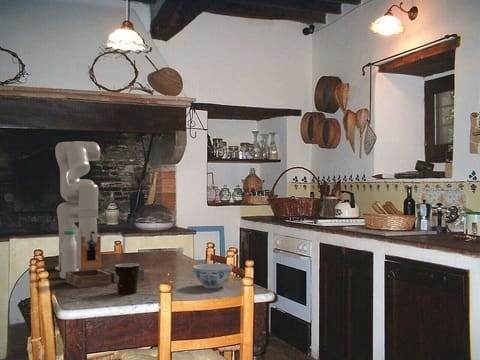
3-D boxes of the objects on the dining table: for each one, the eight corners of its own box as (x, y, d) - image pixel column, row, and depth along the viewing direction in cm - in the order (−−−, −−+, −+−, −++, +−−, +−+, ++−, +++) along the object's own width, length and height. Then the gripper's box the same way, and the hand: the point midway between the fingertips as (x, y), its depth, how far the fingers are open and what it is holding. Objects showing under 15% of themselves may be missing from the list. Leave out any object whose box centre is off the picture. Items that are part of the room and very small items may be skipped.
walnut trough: (65, 282, 201) (65, 272, 201) (97, 278, 209) (97, 269, 209) (78, 288, 188) (78, 277, 188) (111, 284, 196) (111, 274, 196)
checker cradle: (103, 278, 208) (103, 269, 208) (133, 275, 215) (133, 266, 216) (113, 282, 199) (113, 272, 199) (143, 279, 206) (143, 269, 207)
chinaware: (207, 281, 200) (207, 262, 201) (239, 285, 193) (239, 265, 193) (185, 288, 188) (185, 267, 188) (218, 292, 180) (218, 270, 180)
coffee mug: (116, 290, 183) (117, 263, 183) (140, 290, 183) (140, 263, 184) (111, 297, 171) (111, 268, 171) (136, 297, 172) (136, 268, 172)
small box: (80, 270, 194) (80, 236, 194) (76, 268, 199) (76, 235, 199) (101, 268, 198) (101, 235, 199) (96, 266, 203) (96, 234, 204)
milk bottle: (82, 276, 214) (82, 230, 215) (71, 279, 207) (71, 231, 207) (67, 275, 217) (67, 229, 217) (55, 278, 209) (56, 230, 210)
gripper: (72, 214, 204) (72, 258, 203) (86, 215, 190) (86, 262, 189) (90, 213, 208) (90, 256, 208) (105, 214, 194) (105, 261, 194)
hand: (88, 259), depth 199 cm, fingers closed on small box, 6 cm apart
